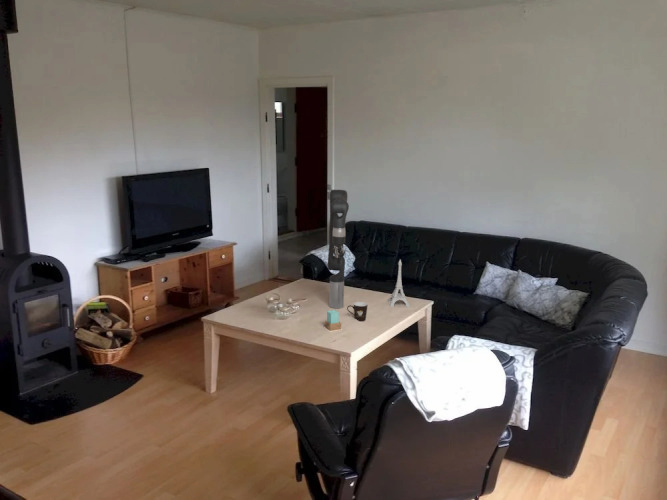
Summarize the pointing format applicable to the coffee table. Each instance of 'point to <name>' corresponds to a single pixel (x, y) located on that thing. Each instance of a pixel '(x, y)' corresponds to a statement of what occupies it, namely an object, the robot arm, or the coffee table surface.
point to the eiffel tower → (395, 294)
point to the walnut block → (332, 326)
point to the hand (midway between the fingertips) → (338, 263)
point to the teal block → (333, 316)
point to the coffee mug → (359, 311)
